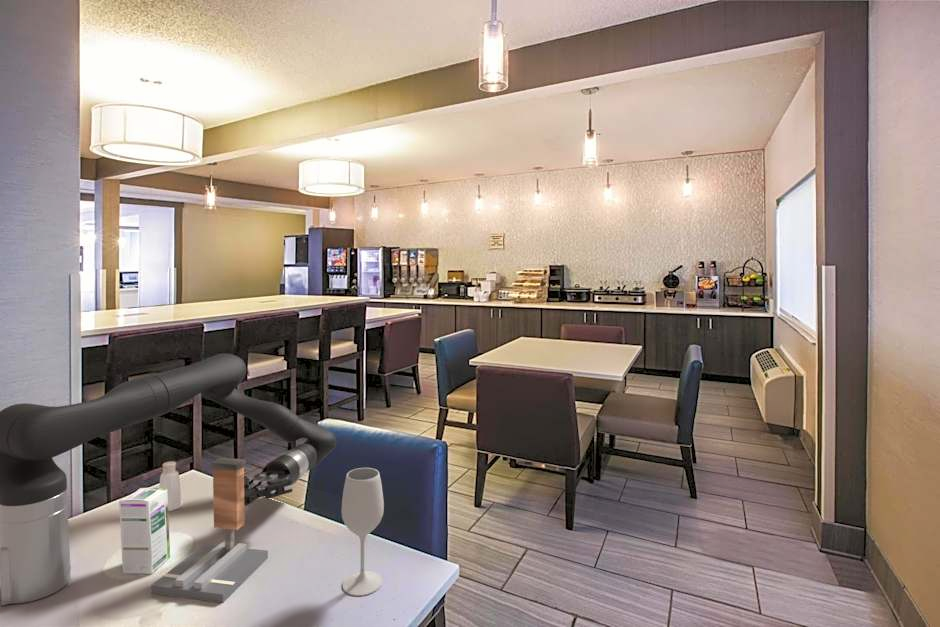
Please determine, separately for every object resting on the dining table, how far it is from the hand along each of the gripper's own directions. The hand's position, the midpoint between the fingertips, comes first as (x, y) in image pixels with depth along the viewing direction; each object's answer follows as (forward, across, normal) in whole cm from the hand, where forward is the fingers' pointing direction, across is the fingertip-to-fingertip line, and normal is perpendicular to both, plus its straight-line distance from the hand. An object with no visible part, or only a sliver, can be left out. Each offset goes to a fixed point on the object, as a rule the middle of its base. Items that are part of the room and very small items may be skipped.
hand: (243, 501), depth 102 cm
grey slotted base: (+10, 0, +10) cm, 14 cm away
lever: (+5, 0, +8) cm, 9 cm away
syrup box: (+9, -14, +10) cm, 20 cm away
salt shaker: (-13, -28, +10) cm, 33 cm away
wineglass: (+7, +29, +10) cm, 31 cm away
